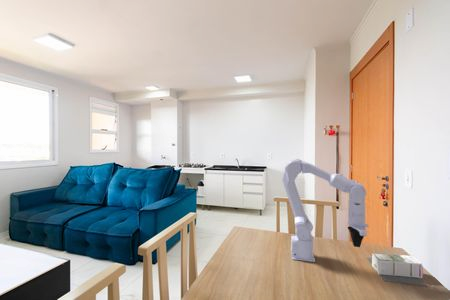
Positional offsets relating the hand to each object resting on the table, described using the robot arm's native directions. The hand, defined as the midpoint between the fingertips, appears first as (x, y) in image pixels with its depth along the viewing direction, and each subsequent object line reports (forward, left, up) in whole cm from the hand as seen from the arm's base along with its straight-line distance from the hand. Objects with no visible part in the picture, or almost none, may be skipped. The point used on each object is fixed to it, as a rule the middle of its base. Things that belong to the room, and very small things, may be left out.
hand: (356, 246), depth 84 cm
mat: (+14, +2, -9) cm, 17 cm away
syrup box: (+6, 0, -6) cm, 9 cm away
